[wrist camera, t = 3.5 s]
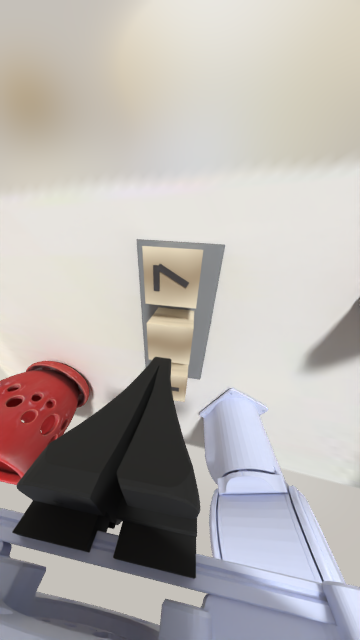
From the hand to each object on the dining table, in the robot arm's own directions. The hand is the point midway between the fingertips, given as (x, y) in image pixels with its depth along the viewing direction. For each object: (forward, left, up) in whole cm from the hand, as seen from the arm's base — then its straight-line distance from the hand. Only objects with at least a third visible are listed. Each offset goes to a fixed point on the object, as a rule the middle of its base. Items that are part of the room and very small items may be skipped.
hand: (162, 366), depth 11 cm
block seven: (+6, +3, -7) cm, 10 cm away
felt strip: (0, 0, -8) cm, 8 cm away
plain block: (0, 0, -7) cm, 7 cm away
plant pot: (-23, +13, -8) cm, 27 cm away
